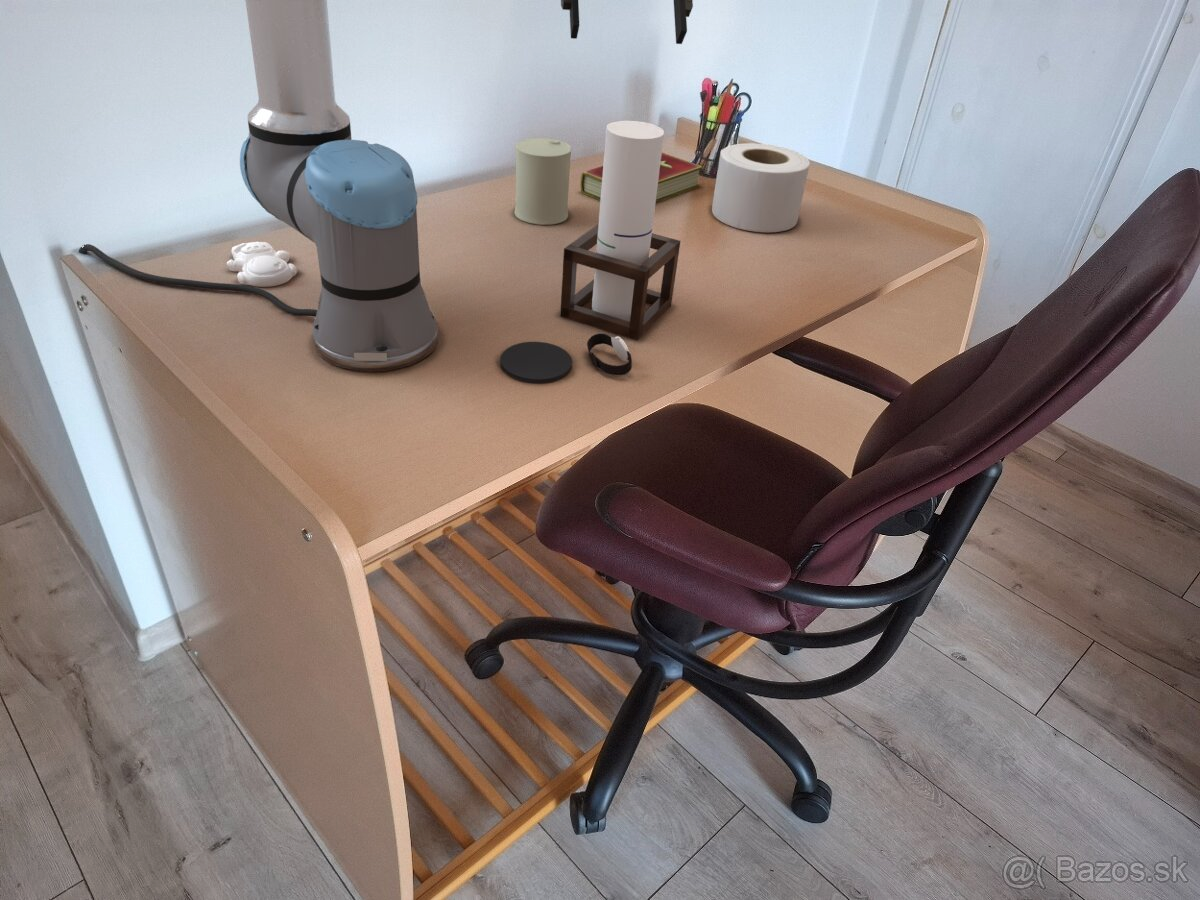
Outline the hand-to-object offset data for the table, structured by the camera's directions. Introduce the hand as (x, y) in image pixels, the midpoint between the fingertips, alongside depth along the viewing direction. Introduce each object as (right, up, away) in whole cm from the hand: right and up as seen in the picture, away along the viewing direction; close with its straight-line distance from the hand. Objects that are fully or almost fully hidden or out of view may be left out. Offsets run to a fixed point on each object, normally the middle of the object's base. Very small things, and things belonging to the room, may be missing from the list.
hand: (628, 35), depth 105 cm
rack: (-1, -32, +13) cm, 35 cm away
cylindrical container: (-1, -33, +13) cm, 35 cm away
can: (-14, -12, +39) cm, 43 cm away
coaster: (-12, -41, 0) cm, 43 cm away
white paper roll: (+24, -10, +46) cm, 53 cm away
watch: (-3, -41, +2) cm, 41 cm away
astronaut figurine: (-52, -26, +15) cm, 60 cm away
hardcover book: (+4, -3, +52) cm, 52 cm away
